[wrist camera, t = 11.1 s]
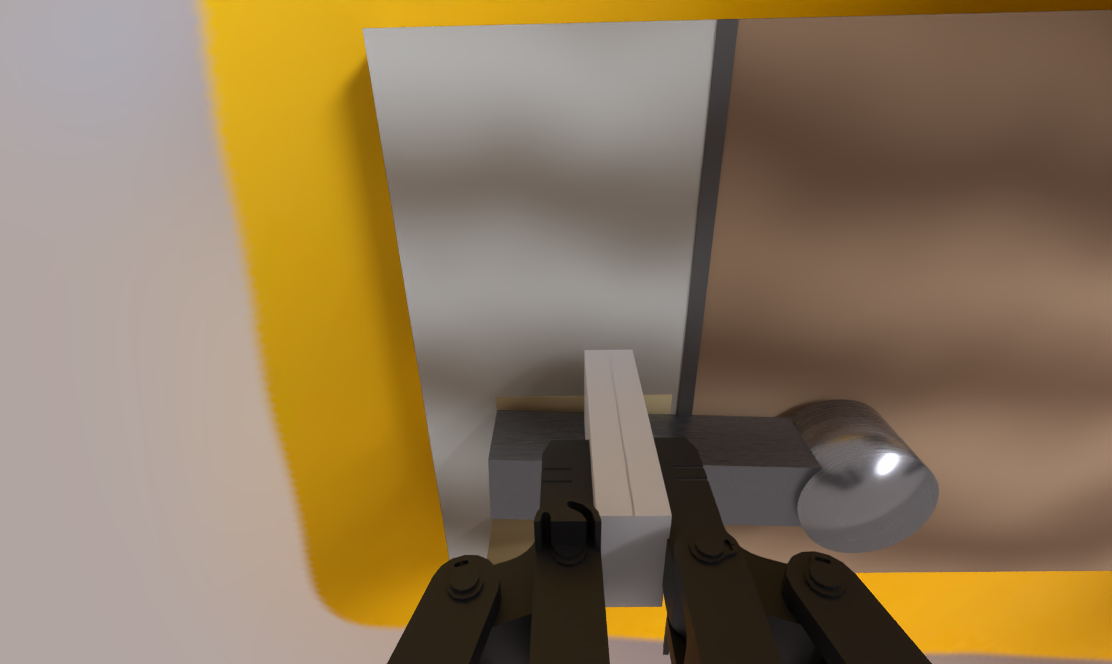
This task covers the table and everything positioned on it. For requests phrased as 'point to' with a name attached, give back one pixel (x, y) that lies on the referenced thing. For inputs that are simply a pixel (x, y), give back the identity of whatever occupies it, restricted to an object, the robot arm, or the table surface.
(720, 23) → the board
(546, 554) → the robot arm
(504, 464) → the door lever handle
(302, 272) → the table surface
